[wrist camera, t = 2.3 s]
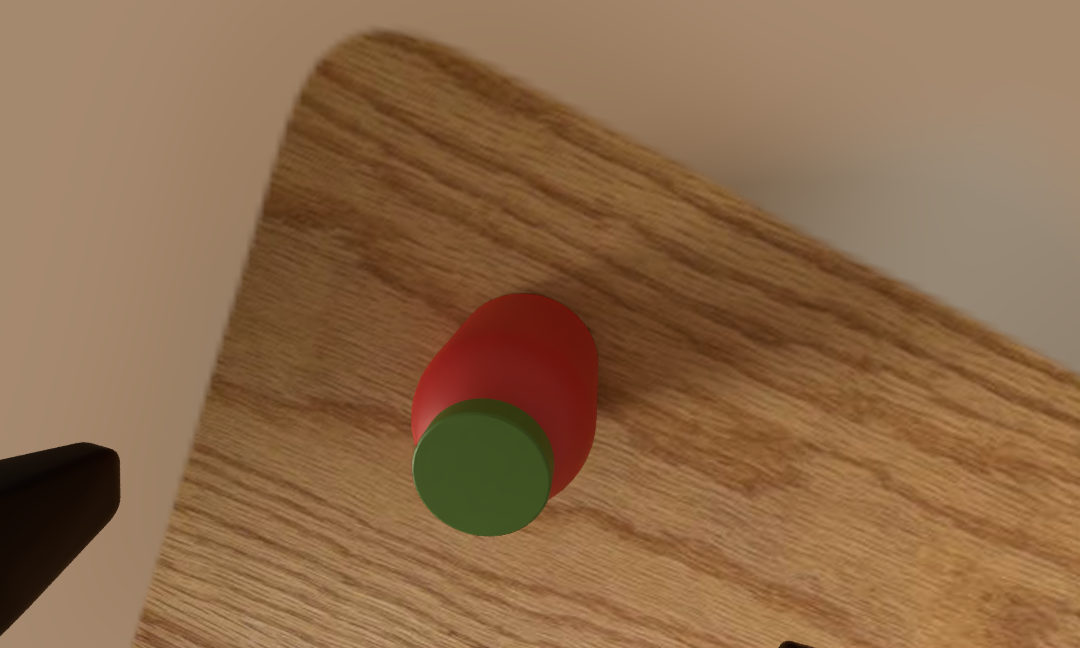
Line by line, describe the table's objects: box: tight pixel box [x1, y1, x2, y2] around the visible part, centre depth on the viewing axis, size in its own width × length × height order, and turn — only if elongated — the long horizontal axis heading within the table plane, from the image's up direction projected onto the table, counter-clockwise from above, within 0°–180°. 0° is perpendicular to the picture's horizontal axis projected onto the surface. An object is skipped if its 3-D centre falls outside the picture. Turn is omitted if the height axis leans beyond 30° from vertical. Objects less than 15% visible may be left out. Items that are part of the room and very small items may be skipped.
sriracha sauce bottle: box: [411, 293, 598, 536], centre depth 11 cm, size 4×4×5 cm
